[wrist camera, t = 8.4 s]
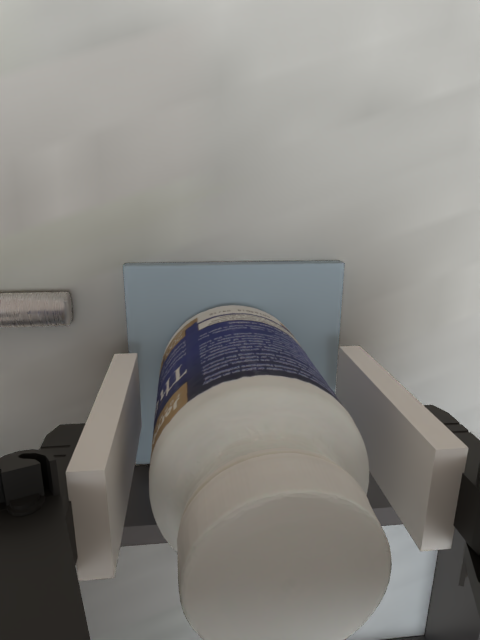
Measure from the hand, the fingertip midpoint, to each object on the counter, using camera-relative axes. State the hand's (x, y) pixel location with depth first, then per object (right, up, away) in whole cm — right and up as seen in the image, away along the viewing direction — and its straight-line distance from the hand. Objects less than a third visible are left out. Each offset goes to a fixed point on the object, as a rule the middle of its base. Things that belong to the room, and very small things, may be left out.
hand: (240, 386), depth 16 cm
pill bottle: (0, 0, +2) cm, 2 cm away
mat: (0, +1, +2) cm, 2 cm away
